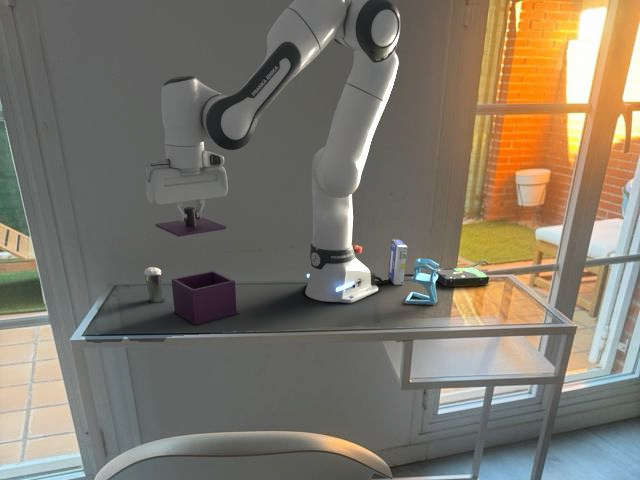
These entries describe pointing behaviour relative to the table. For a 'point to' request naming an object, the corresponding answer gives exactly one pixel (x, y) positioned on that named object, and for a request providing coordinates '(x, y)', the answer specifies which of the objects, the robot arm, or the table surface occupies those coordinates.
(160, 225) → the lid
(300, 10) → the robot arm
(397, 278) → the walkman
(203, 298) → the box
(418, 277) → the chair
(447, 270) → the disk drive
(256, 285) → the table surface
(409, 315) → the table surface
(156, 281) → the milkshake
